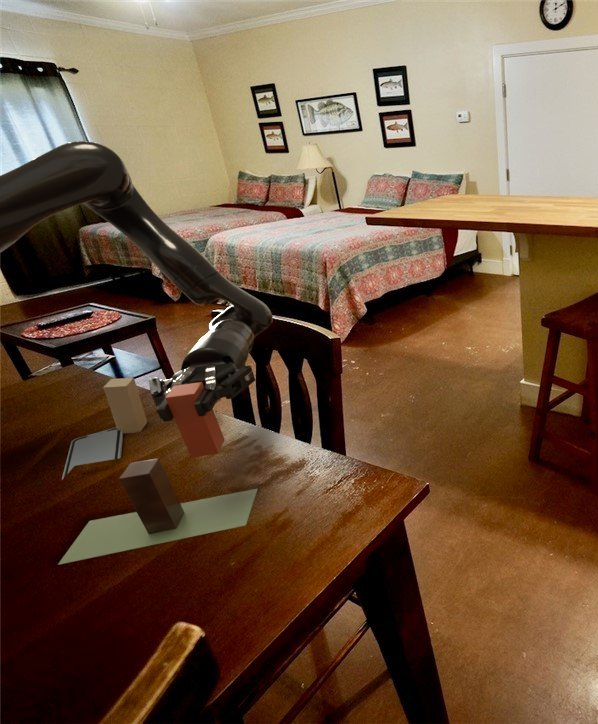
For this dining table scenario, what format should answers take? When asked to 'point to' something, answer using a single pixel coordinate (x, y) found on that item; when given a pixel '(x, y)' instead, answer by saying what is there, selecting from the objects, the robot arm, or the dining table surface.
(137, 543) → the pale green strip
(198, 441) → the tall red brick
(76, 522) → the dining table surface
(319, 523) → the dining table surface
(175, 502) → the tall brown brick
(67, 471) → the smartphone
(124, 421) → the cream rectangular prism
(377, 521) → the dining table surface
